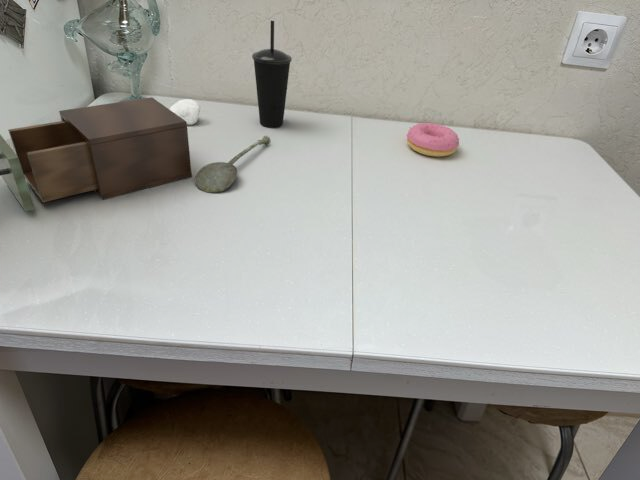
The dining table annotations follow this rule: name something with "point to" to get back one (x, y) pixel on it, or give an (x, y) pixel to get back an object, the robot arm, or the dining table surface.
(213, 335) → the dining table surface
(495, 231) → the dining table surface
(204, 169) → the soupspoon
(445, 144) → the doughnut
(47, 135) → the drawer
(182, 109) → the dumpling
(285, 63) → the drinking cup
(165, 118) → the cabinet
